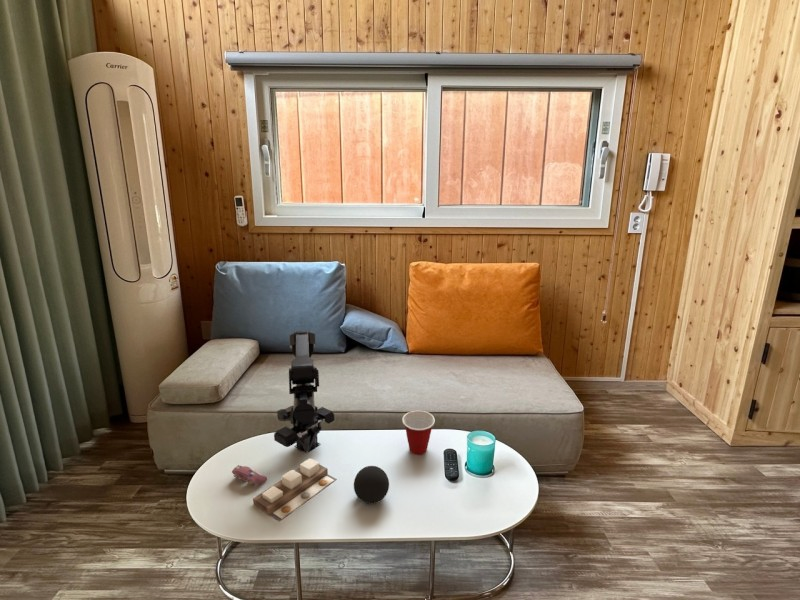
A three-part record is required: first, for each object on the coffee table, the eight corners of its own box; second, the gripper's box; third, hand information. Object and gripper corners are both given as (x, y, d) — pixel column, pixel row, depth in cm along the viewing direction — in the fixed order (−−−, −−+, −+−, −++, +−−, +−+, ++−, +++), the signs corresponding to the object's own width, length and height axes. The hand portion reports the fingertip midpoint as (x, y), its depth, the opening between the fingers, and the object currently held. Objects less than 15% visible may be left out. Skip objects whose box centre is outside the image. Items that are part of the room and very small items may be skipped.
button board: (311, 467, 147) (311, 460, 146) (337, 480, 141) (337, 473, 140) (253, 506, 130) (253, 498, 129) (279, 523, 124) (278, 515, 123)
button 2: (310, 466, 144) (309, 458, 143) (319, 471, 142) (319, 462, 141) (300, 473, 141) (299, 464, 140) (309, 478, 139) (309, 469, 138)
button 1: (274, 494, 134) (273, 485, 133) (283, 500, 131) (282, 491, 130) (262, 502, 130) (262, 493, 130) (272, 508, 128) (271, 499, 127)
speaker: (347, 506, 130) (347, 475, 128) (363, 484, 139) (363, 455, 137) (380, 515, 127) (380, 484, 124) (394, 493, 136) (394, 463, 133)
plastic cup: (399, 458, 152) (400, 425, 149) (404, 440, 162) (404, 409, 159) (432, 461, 151) (433, 428, 147) (435, 442, 161) (436, 411, 158)
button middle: (292, 478, 139) (292, 469, 138) (302, 483, 136) (301, 474, 135) (282, 485, 135) (281, 476, 135) (291, 490, 133) (290, 481, 132)
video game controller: (236, 482, 142) (226, 470, 138) (245, 469, 145) (236, 457, 140) (260, 493, 138) (251, 481, 133) (269, 479, 140) (261, 467, 136)
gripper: (310, 384, 146) (312, 428, 151) (260, 408, 132) (264, 455, 136) (335, 395, 140) (336, 440, 144) (285, 421, 126) (288, 470, 130)
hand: (306, 450), depth 139 cm, fingers closed
